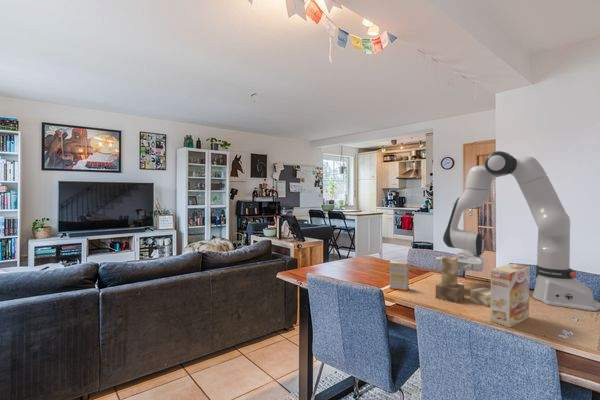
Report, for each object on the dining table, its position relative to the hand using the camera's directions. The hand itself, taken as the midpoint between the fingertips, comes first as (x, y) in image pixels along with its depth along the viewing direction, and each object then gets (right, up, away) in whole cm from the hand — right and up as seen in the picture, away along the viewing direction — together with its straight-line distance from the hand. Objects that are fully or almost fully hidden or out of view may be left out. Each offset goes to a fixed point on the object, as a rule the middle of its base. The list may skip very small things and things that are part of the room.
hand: (453, 266), depth 147 cm
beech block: (+10, -14, -8) cm, 19 cm away
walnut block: (-2, -14, -2) cm, 14 cm away
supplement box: (-20, -14, +13) cm, 28 cm away
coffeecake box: (+9, -15, -26) cm, 31 cm away
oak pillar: (-2, -8, -2) cm, 8 cm away
